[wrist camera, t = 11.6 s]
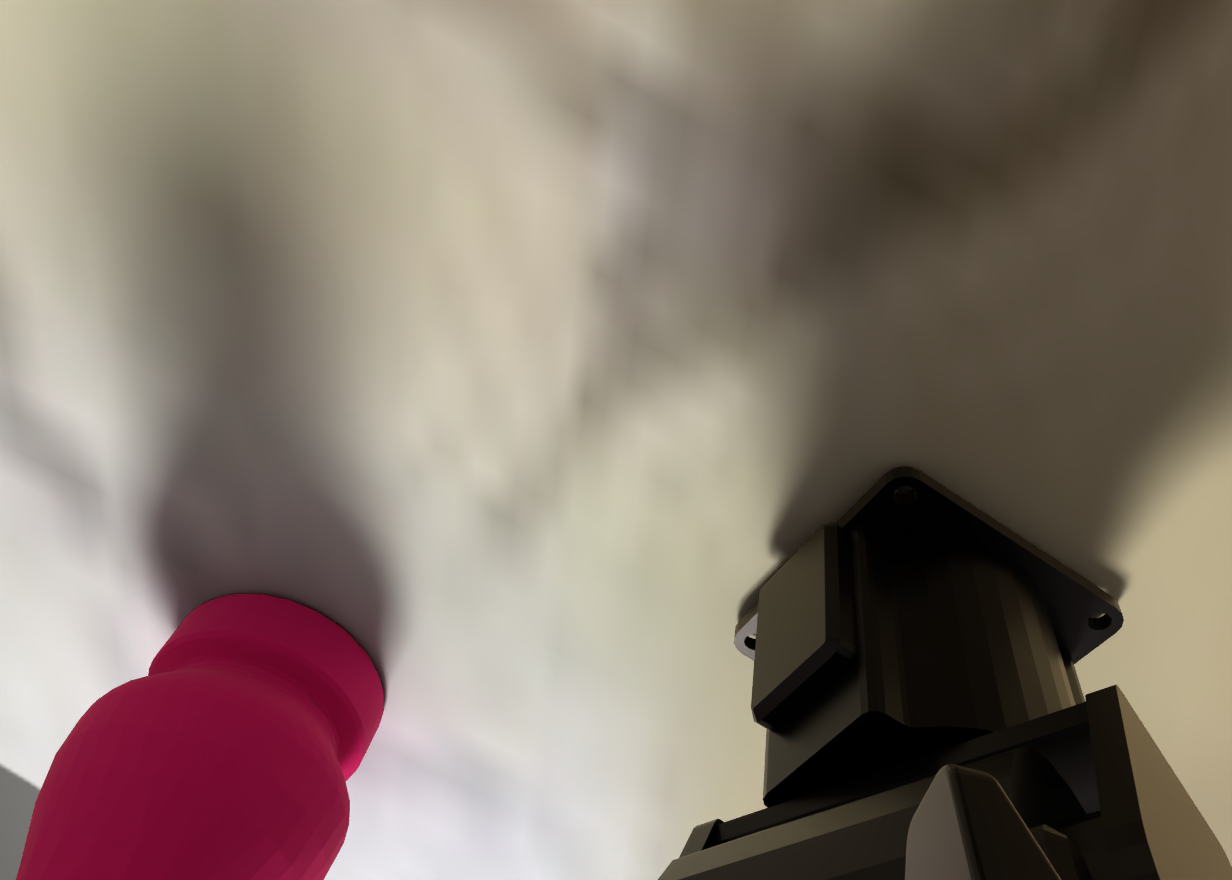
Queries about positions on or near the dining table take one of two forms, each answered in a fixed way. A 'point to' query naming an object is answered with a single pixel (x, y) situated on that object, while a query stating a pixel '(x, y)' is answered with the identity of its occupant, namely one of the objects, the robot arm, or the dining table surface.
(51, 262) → the dining table surface
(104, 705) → the pepper mill
